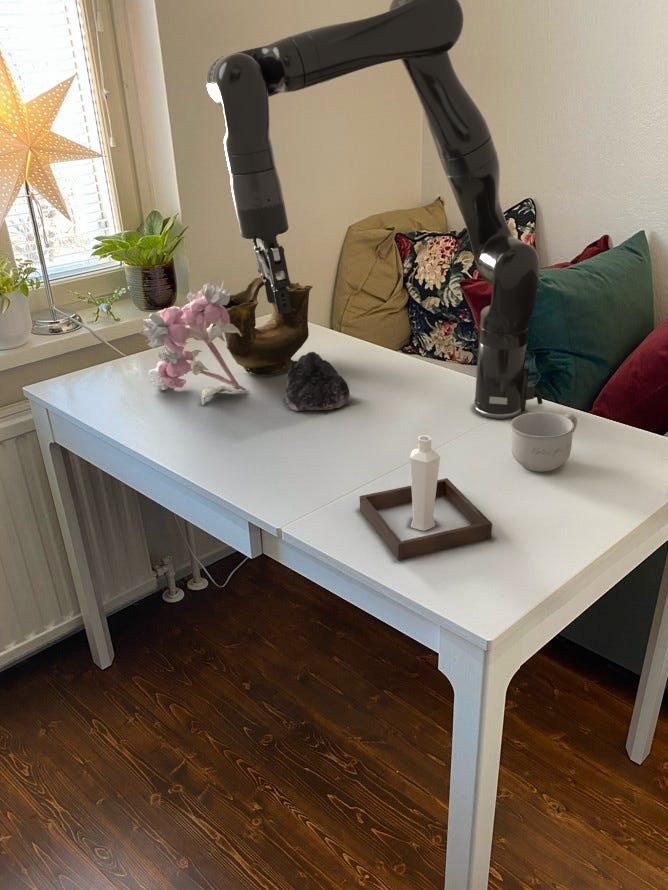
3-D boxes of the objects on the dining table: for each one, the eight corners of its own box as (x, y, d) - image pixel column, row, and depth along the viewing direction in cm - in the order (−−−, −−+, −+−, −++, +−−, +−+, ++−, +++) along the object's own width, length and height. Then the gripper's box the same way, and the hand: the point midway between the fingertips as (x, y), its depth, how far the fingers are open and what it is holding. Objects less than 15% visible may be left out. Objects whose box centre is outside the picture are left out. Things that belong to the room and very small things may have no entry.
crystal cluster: (333, 422, 171) (337, 373, 166) (270, 407, 174) (272, 359, 169) (357, 401, 183) (361, 355, 178) (297, 387, 186) (300, 341, 181)
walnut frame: (446, 492, 147) (447, 477, 145) (491, 538, 135) (492, 523, 133) (359, 510, 142) (359, 495, 140) (398, 560, 129) (398, 544, 128)
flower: (232, 354, 196) (170, 258, 180) (286, 374, 180) (224, 271, 164) (165, 412, 190) (95, 319, 174) (215, 438, 174) (142, 338, 158)
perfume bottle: (435, 533, 136) (438, 446, 128) (407, 530, 137) (408, 443, 128) (439, 518, 140) (443, 433, 132) (412, 515, 140) (414, 430, 132)
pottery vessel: (239, 391, 182) (230, 296, 172) (207, 377, 189) (196, 285, 178) (325, 358, 198) (322, 270, 187) (293, 347, 204) (288, 261, 193)
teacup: (531, 483, 149) (535, 441, 145) (495, 457, 158) (499, 416, 153) (595, 466, 155) (602, 424, 151) (558, 441, 163) (563, 402, 159)
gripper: (292, 203, 129) (311, 312, 137) (274, 193, 141) (292, 294, 149) (242, 212, 127) (265, 322, 135) (228, 201, 139) (249, 303, 147)
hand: (279, 307), depth 142 cm, fingers open, 8 cm apart
